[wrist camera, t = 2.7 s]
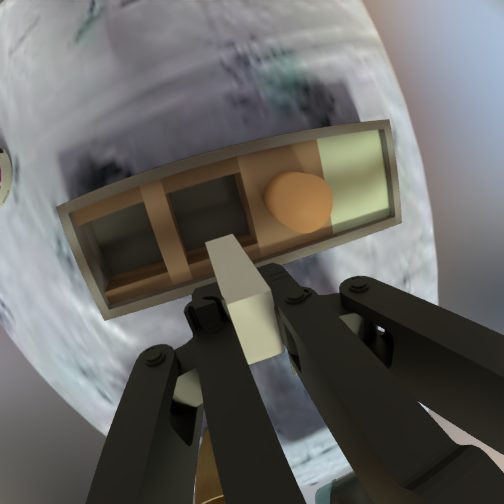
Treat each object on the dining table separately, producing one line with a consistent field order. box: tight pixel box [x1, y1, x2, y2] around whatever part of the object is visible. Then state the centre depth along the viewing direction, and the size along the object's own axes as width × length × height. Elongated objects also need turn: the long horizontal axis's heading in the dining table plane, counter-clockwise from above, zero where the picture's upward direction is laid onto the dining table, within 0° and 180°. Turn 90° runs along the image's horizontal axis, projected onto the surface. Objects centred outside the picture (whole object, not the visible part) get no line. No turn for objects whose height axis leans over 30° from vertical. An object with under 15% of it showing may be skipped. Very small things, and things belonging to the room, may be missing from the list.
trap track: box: [56, 119, 402, 321], centre depth 28 cm, size 12×34×6 cm, turn 104°
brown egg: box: [264, 171, 333, 233], centre depth 25 cm, size 5×5×4 cm
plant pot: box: [195, 428, 226, 504], centre depth 35 cm, size 15×15×16 cm
